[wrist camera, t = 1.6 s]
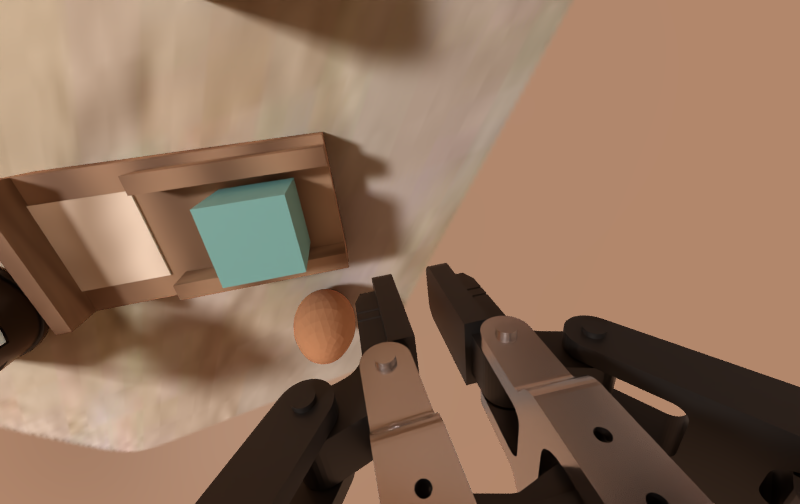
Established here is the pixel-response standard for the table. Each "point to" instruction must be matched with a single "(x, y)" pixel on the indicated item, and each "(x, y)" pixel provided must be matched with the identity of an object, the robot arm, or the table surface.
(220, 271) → the block
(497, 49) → the table surface
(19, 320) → the french press
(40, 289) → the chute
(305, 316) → the egg
